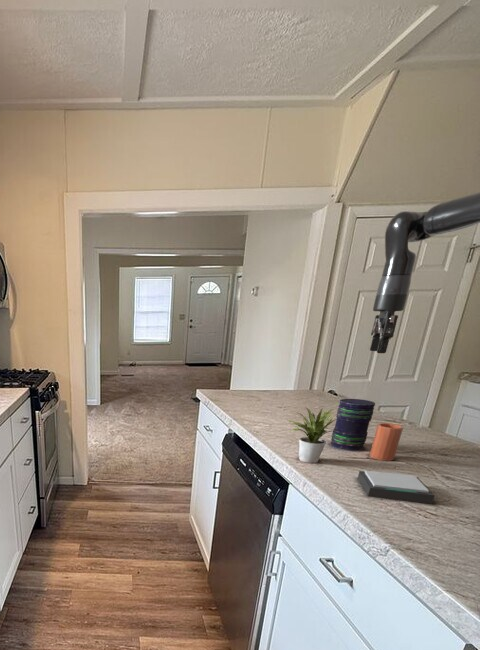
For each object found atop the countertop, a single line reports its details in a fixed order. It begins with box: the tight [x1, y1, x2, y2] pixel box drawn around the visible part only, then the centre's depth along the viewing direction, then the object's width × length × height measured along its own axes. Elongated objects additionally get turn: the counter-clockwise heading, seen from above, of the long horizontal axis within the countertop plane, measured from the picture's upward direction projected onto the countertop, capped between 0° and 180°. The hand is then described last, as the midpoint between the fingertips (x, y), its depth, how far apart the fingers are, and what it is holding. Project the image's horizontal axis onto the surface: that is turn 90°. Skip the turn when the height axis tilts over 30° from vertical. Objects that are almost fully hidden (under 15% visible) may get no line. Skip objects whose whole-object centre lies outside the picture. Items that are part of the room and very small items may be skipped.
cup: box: [369, 422, 404, 462], centre depth 121 cm, size 6×6×10 cm
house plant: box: [288, 406, 338, 464], centre depth 120 cm, size 14×14×16 cm
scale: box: [357, 470, 436, 505], centre depth 100 cm, size 13×12×3 cm
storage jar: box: [329, 398, 376, 452], centre depth 131 cm, size 10×10×15 cm
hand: (377, 352), depth 122 cm, fingers open, 8 cm apart
